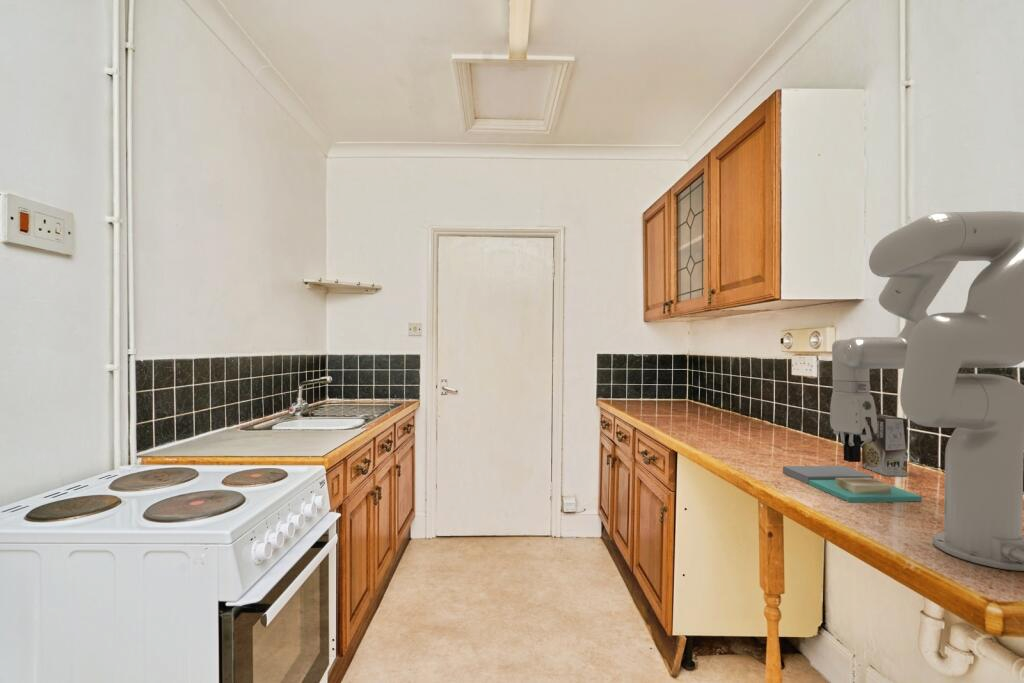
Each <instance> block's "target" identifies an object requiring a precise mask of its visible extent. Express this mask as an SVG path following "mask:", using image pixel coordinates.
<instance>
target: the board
mask: <svg viewBox="0 0 1024 683" xmlns="http://www.w3.org/2000/svg"><path fill="white" fill-rule="evenodd" d="M782 474H784V475H786V476H789V477H790V476H791V477H790V478H793V479H794V480H797V481H799V480H800V482H802V483H804V484H806V485H809V480H836V478H872V479H874V476H873V475H871V474H869V473H865V472H863V471H859V470H857V469H854V468H851V467H849V466H845V465H783V466H782Z"/></svg>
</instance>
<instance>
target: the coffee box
mask: <svg viewBox="0 0 1024 683" xmlns="http://www.w3.org/2000/svg"><path fill="white" fill-rule="evenodd" d="M876 416H877V434H875V435H871V436H872V440H871V441H865V442H864V443H863V446H861V468H863V467H864V469H865V468H866V470H868V469H869V470H868V471H871V470H872V471H871V472H875V473H878V474H880V475H883V476H890V477H891V476H893V477H894V476H895V477H896V476H897V477H907V476H908V420H909V419H908V418H903V417H899V416H898V417H897V416H892V415H888V414H884V413H883V414H882V413H878V414H877V413H876Z"/></svg>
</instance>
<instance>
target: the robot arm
mask: <svg viewBox="0 0 1024 683" xmlns="http://www.w3.org/2000/svg"><path fill="white" fill-rule="evenodd" d="M875 244H876V245H875V246H874V247H873V248H872V251H871V252H870V255H869V259H868V266H869V269H870V272H872V274H874V275H875V276H876V277H881V278H889V279H888V280H887V282H886V284H885V286H884V287H883V289H882V291H881V292H880V294H879V296H878V302H879V305H880V306H881V307H882V308H883V309H884V310H886V311H887V312H888V313H890V314H892V315H894V316H897V317H899V318H902V319H904V320H906V322H905V325H904V327H903V328H902V330H901V331H900V332H899V334H898V336H895V337H894V336H893V337H892V336H885V337H884V336H877V337H876V336H871V337H870V336H863V337H862V336H859V337H853V338H852V337H851V338H848V339H837V340H835V341H833V343H832V346H831V354H832V355H831V358H832V360H831V361H832V363H831V364H832V368H831V369H832V370H831V371H832V393H831V397H830V398H831V399H830V406H829V408H830V409H829V423H830V425H829V426H830V428H831V429H832V430H833V431H832V432H833V434H834V435H835V436H837V437H839V438H840V443H841V444H842V446H843V449H842V450H843V460H844V461H845V462H849V463H860V462H861V463H862V446H863V443H864V442H865V441H871V440H872V436H871V435H875V434H877V416H876V414H877V409H876V404H875V399H874V396H873V395H872V394H871V393H870V392H871V389H872V388H871V384H870V370H872V369H873V370H877V369H879V370H885V369H886V370H890V369H891V370H901V369H903V373H902V378H901V386H900V392H899V393H900V395H899V396H900V399H899V400H900V401H899V402H900V407H901V409H902V412H903V413H904V414H903V415H905V416H906V419H908V420H910V421H911V422H913V424H916V425H919V426H922V427H928V428H946V429H948V428H949V429H951V428H952V429H953V428H954V430H953V432H952V434H951V435H950V437H949V438H948V441H947V442H946V446H945V451H944V514H943V515H944V516H943V517H944V518H943V519H944V520H943V521H944V522H943V524H944V527H943V528H944V529H943V530H944V531H943V532H936V533H935V534H933V535H932V543H933V545H934V546H935V547H936V548H938V549H939V550H941V551H943V552H945V553H947V554H948V555H951V556H954V557H956V558H958V559H960V560H964V561H967V562H970V563H974V564H977V565H982V566H986V567H990V568H995V569H1001V570H1007V571H1018V572H1020V571H1021V572H1024V537H1023V524H1024V522H1023V521H1024V520H1023V519H1024V518H1023V517H1024V515H1023V514H1024V513H1023V512H1024V506H1023V505H1024V501H1023V500H1024V498H1023V497H1024V384H1022V383H1021V382H1019V381H1018V380H1016V379H1013V378H1011V377H1007V376H1004V375H999V374H993V373H992V374H991V373H959V370H960V369H961V368H963V369H964V368H965V369H966V368H968V369H969V368H970V369H971V368H972V369H973V368H975V369H977V368H978V369H995V368H996V369H999V368H1010V367H1014V366H1015V367H1016V366H1018V365H1020V364H1022V363H1023V362H1024V212H1023V211H1022V212H1021V211H1009V210H1007V211H1006V210H1002V211H1001V210H993V211H992V210H985V211H984V210H983V211H980V210H979V211H948V212H947V211H946V212H935V213H931V214H928V215H924V216H922V217H920V218H918V219H916V220H914V221H912V222H909V223H907V224H906V225H904V226H902V227H899V228H898V229H896V230H894V231H892V232H891V233H889V234H887V235H885V236H884V237H883V238H882V239H881V240H879V241H878V242H877V243H875ZM974 261H975V262H976V261H978V262H980V261H984V262H988V263H989V264H988V265H986V267H985V268H983V269H982V270H981V271H980V272H979V273H978V274H977V275H976V277H975V278H974V279H973V281H972V283H971V284H970V287H969V288H968V293H967V299H966V300H967V301H966V303H965V307H964V310H963V311H962V312H938V313H933V314H930V315H928V312H927V310H928V308H929V307H930V306H931V304H932V302H933V301H934V299H935V298H936V296H937V294H938V293H939V292H940V290H941V289H942V287H943V286H944V284H945V283H946V282H947V280H948V279H949V277H950V276H951V274H952V272H953V271H954V270H955V268H956V267H957V265H958V264H959V262H974Z"/></svg>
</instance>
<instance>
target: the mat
mask: <svg viewBox="0 0 1024 683" xmlns="http://www.w3.org/2000/svg"><path fill="white" fill-rule="evenodd" d="M808 486H811V487H814V488H815V487H816V489H818V490H820V491H822V492H824V491H825V492H824V493H826V492H827V493H826V494H829V493H830V494H829V495H831V494H832V496H833V495H834V496H833V497H835V496H837V497H836V498H838V497H839V498H838V499H840V498H841V500H842V499H844V500H846V501H845V502H847V501H848V502H847V503H895V502H896V503H899V502H900V503H903V501H904V503H906V502H905V501H923V497H922V495H919V494H916V493H914V492H911V491H908V490H905V489H902V488H899V487H897V486H894V485H891V494H854V493H851V492H849V491H847V490H844V489H842V488H839V487H837V486H836V480H809V484H808ZM844 500H843V501H844Z"/></svg>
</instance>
